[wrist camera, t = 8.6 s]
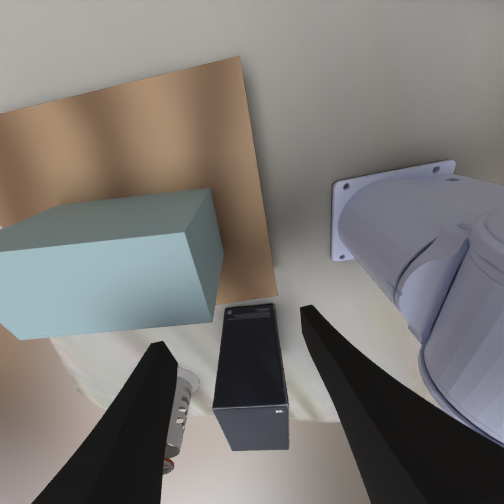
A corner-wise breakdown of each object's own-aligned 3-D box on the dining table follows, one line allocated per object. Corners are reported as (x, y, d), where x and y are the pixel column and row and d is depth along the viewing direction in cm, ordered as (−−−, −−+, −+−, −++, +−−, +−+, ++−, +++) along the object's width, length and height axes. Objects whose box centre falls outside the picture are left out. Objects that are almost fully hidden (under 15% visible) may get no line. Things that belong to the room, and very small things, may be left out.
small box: (220, 307, 24) (207, 411, 16) (275, 302, 24) (292, 404, 15) (234, 357, 30) (229, 455, 21) (278, 353, 30) (292, 451, 21)
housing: (210, 187, 13) (184, 232, 8) (223, 253, 16) (212, 322, 10) (42, 206, 13) (-101, 263, 8) (83, 267, 16) (-3, 342, 10)
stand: (241, 74, 13) (239, 55, 10) (272, 268, 22) (277, 295, 18) (-6, 132, 15) (-83, 134, 11) (113, 294, 23) (90, 324, 19)
